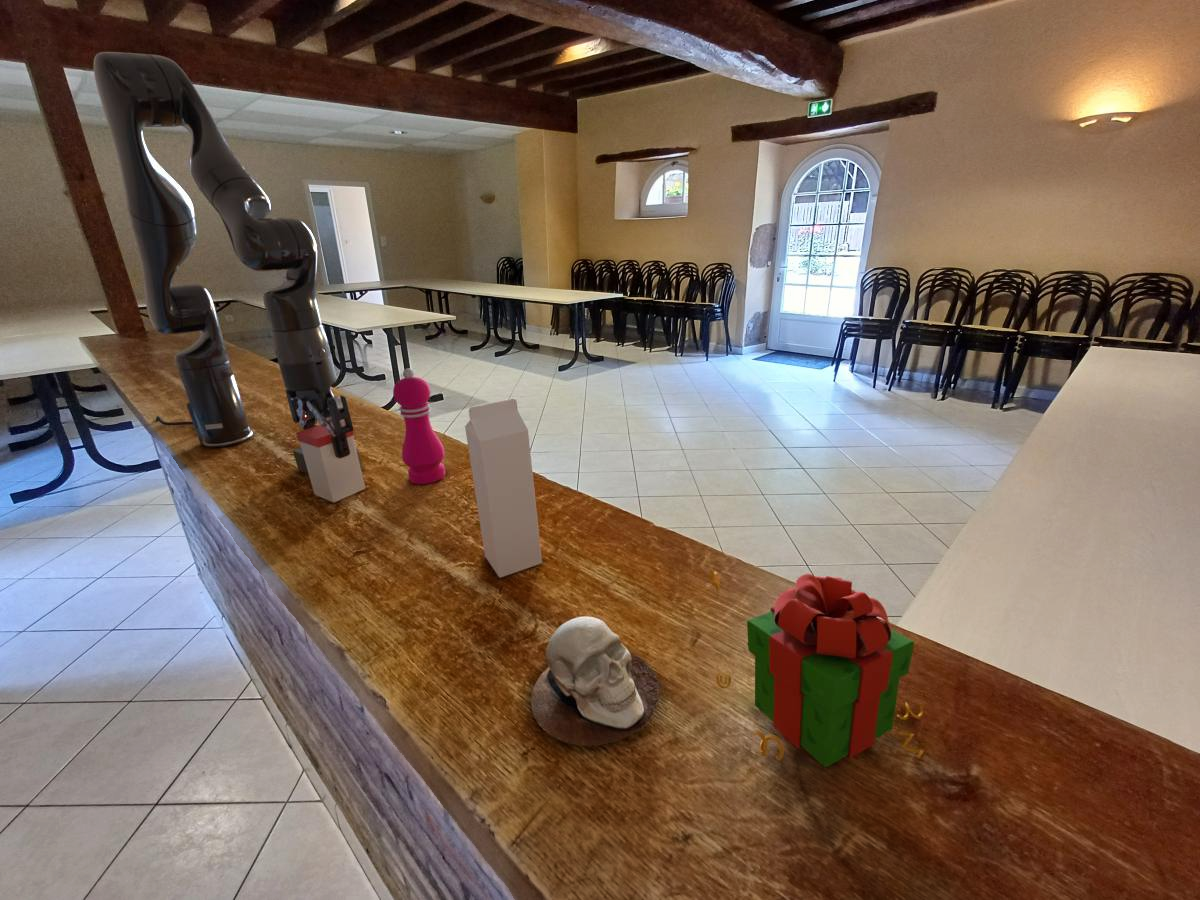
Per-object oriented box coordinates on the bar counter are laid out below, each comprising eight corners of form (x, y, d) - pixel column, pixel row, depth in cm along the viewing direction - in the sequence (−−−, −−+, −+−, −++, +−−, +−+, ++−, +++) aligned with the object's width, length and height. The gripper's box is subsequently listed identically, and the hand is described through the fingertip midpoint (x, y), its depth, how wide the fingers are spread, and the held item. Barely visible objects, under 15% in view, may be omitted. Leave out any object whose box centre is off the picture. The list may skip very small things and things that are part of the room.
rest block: (333, 483, 99) (327, 463, 97) (298, 469, 105) (292, 450, 104) (362, 471, 103) (358, 451, 102) (327, 458, 110) (322, 440, 108)
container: (354, 511, 95) (290, 485, 85) (334, 502, 99) (270, 476, 89) (387, 446, 98) (330, 414, 88) (367, 440, 102) (309, 409, 92)
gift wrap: (802, 644, 59) (809, 520, 56) (987, 768, 43) (1014, 604, 39) (644, 712, 51) (639, 571, 47) (801, 898, 35) (813, 705, 31)
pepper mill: (453, 468, 102) (436, 362, 95) (439, 485, 96) (419, 373, 88) (416, 468, 103) (396, 363, 96) (400, 485, 97) (376, 374, 89)
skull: (695, 690, 50) (635, 662, 44) (629, 787, 49) (558, 774, 43) (617, 617, 60) (558, 585, 53) (560, 699, 59) (493, 676, 52)
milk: (542, 563, 73) (527, 404, 64) (498, 579, 70) (476, 415, 61) (524, 542, 77) (508, 392, 69) (483, 556, 75) (460, 401, 66)
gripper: (257, 357, 87) (285, 451, 94) (305, 366, 80) (332, 468, 86) (303, 347, 93) (327, 437, 99) (352, 355, 85) (374, 452, 92)
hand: (329, 451), depth 93 cm, fingers open, 8 cm apart
